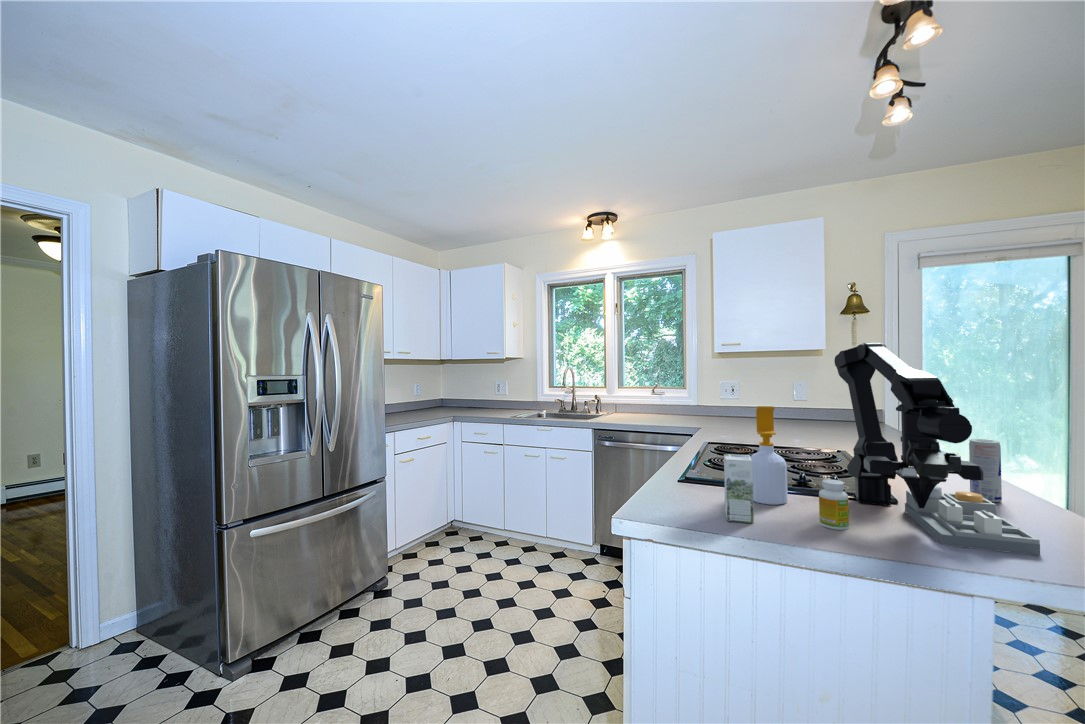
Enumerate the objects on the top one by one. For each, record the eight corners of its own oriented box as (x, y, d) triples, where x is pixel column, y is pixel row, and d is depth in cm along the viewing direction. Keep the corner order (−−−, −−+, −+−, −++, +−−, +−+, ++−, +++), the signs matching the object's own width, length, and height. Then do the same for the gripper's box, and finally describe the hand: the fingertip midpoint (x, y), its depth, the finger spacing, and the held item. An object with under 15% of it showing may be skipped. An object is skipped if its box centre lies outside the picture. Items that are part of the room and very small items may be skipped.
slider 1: (947, 523, 91) (946, 504, 91) (938, 516, 95) (938, 498, 95) (962, 524, 90) (962, 505, 90) (953, 517, 94) (953, 499, 94)
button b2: (961, 510, 96) (960, 496, 96) (951, 504, 100) (951, 490, 100) (987, 513, 95) (987, 498, 95) (977, 506, 99) (976, 492, 99)
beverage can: (1008, 503, 108) (1006, 442, 108) (981, 503, 109) (979, 442, 109) (990, 496, 113) (988, 438, 113) (964, 496, 114) (963, 438, 114)
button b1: (920, 502, 99) (920, 488, 99) (913, 497, 103) (912, 483, 103) (945, 504, 97) (945, 490, 97) (937, 498, 101) (936, 485, 101)
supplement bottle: (841, 532, 93) (840, 486, 93) (814, 524, 98) (813, 480, 98) (853, 526, 96) (852, 482, 96) (827, 519, 101) (826, 476, 101)
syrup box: (751, 515, 104) (749, 454, 104) (754, 524, 99) (752, 459, 99) (725, 513, 106) (723, 453, 106) (726, 522, 101) (725, 458, 101)
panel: (942, 544, 86) (941, 518, 86) (905, 511, 105) (904, 490, 104) (1040, 555, 80) (1039, 528, 80) (982, 518, 99) (982, 495, 99)
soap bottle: (749, 503, 113) (747, 407, 113) (747, 493, 121) (745, 403, 121) (789, 507, 109) (787, 407, 109) (784, 496, 118) (782, 404, 118)
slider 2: (984, 536, 84) (984, 515, 84) (974, 528, 88) (973, 508, 88) (1002, 537, 83) (1001, 517, 83) (990, 530, 87) (990, 510, 87)
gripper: (876, 439, 91) (878, 515, 91) (997, 443, 83) (999, 526, 83) (862, 430, 101) (864, 499, 101) (968, 434, 93) (970, 508, 93)
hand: (920, 507), depth 94 cm, fingers closed
